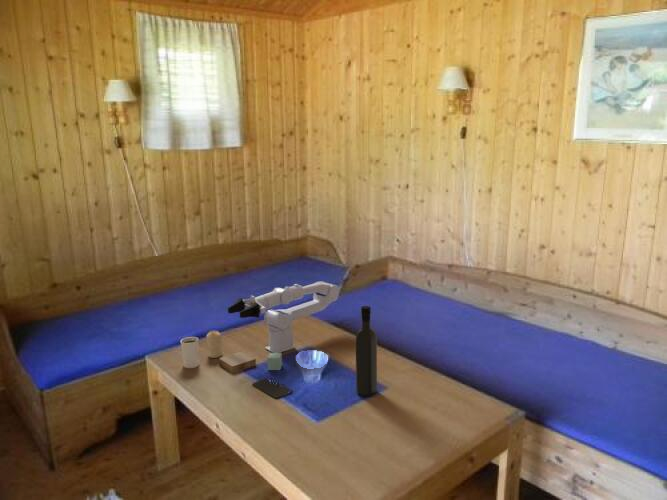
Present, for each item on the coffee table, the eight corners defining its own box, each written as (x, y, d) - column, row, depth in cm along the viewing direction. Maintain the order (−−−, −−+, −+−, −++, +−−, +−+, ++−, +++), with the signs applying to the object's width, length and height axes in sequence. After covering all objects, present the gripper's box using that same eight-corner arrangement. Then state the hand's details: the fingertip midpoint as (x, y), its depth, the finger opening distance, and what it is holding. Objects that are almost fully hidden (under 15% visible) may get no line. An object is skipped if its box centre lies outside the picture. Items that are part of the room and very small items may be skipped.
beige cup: (203, 362, 210) (201, 337, 208) (195, 369, 204) (192, 344, 202) (188, 360, 212) (186, 336, 210) (179, 367, 206) (176, 342, 204)
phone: (268, 377, 195) (293, 390, 184) (268, 379, 196) (294, 393, 185) (250, 383, 191) (276, 398, 180) (250, 386, 191) (276, 400, 180)
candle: (220, 358, 214) (218, 333, 211) (206, 358, 214) (204, 334, 212) (223, 352, 219) (221, 328, 217) (209, 352, 219) (208, 328, 217)
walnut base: (242, 358, 214) (241, 351, 213) (255, 366, 207) (255, 358, 206) (219, 365, 208) (218, 358, 207) (232, 374, 200) (232, 366, 200)
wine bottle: (363, 387, 187) (362, 303, 180) (378, 390, 184) (377, 305, 178) (355, 394, 182) (353, 308, 176) (370, 398, 179) (369, 311, 173)
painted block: (270, 365, 206) (269, 353, 205) (282, 365, 206) (281, 353, 205) (267, 370, 202) (267, 358, 201) (279, 370, 201) (279, 358, 200)
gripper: (251, 289, 216) (222, 298, 207) (274, 296, 206) (244, 306, 197) (253, 305, 218) (224, 316, 209) (275, 313, 208) (246, 325, 199)
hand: (234, 312), depth 203 cm, fingers open, 7 cm apart
